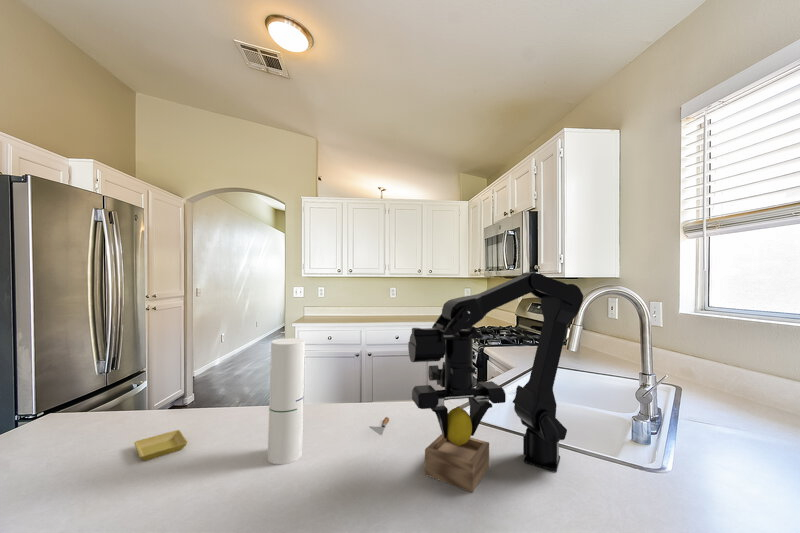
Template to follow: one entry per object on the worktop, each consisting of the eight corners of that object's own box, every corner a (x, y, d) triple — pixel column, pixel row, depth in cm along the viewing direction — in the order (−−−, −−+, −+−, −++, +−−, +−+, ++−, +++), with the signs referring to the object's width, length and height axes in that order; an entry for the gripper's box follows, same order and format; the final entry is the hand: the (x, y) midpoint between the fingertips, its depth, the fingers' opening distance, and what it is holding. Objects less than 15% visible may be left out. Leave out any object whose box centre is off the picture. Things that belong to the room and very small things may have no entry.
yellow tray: (187, 451, 73) (188, 442, 74) (139, 467, 67) (139, 456, 67) (178, 438, 80) (179, 429, 80) (133, 451, 73) (133, 441, 73)
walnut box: (489, 466, 69) (489, 442, 69) (472, 492, 60) (472, 464, 60) (445, 452, 74) (445, 430, 74) (424, 474, 65) (425, 449, 66)
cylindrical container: (308, 451, 74) (311, 340, 75) (285, 467, 67) (288, 345, 68) (284, 444, 77) (287, 337, 78) (260, 459, 70) (264, 342, 71)
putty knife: (359, 445, 79) (379, 446, 78) (358, 440, 79) (379, 441, 78) (372, 419, 92) (389, 420, 91) (372, 415, 92) (389, 416, 91)
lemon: (474, 453, 64) (474, 412, 65) (446, 453, 65) (446, 412, 65) (469, 440, 70) (469, 402, 70) (443, 439, 70) (443, 401, 70)
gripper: (481, 350, 78) (481, 416, 77) (406, 353, 74) (405, 423, 73) (506, 361, 67) (507, 439, 66) (419, 365, 63) (418, 448, 62)
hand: (458, 436), depth 67 cm, fingers closed on lemon, 5 cm apart
